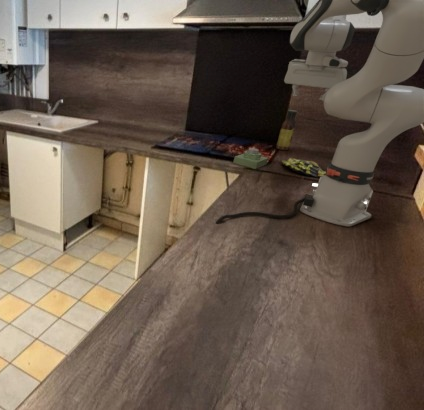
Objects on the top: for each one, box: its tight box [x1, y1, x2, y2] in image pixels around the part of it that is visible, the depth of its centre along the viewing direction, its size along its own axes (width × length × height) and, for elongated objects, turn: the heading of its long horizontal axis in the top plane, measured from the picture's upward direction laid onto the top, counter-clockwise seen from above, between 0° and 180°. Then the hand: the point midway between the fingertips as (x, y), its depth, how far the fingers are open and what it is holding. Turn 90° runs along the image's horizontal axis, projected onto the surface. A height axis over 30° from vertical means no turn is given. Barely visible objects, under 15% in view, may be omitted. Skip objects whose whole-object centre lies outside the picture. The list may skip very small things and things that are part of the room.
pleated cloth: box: [281, 157, 327, 178], centre depth 155 cm, size 20×16×7 cm
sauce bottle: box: [276, 109, 298, 151], centre depth 184 cm, size 7×6×20 cm
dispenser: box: [232, 150, 269, 170], centre depth 159 cm, size 12×10×5 cm
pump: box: [247, 147, 260, 154], centre depth 157 cm, size 4×4×2 cm
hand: (308, 98), depth 139 cm, fingers open, 8 cm apart
